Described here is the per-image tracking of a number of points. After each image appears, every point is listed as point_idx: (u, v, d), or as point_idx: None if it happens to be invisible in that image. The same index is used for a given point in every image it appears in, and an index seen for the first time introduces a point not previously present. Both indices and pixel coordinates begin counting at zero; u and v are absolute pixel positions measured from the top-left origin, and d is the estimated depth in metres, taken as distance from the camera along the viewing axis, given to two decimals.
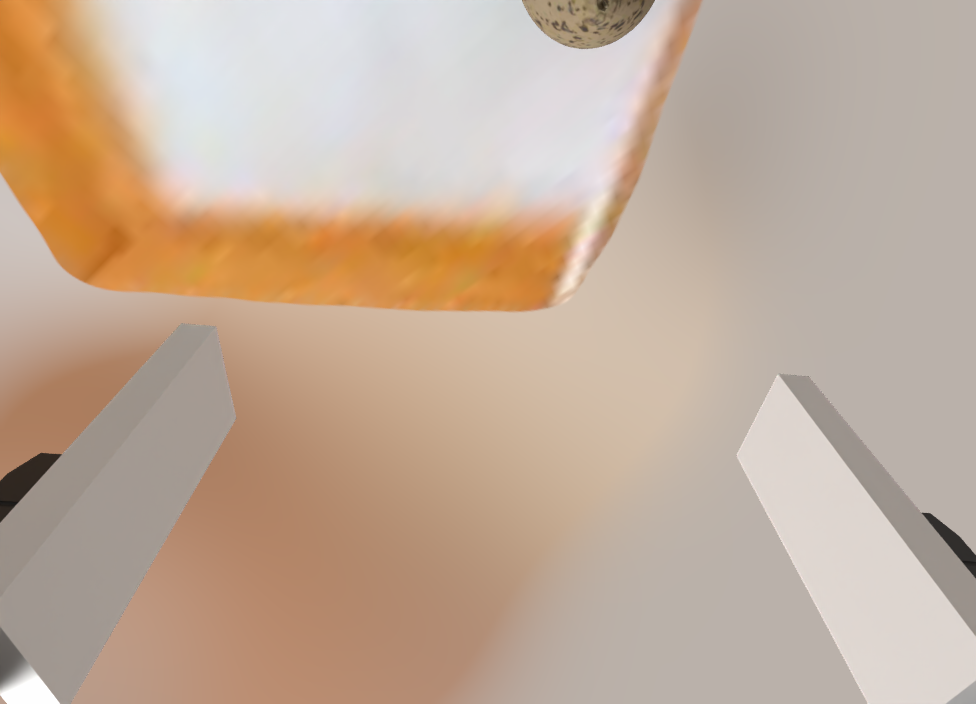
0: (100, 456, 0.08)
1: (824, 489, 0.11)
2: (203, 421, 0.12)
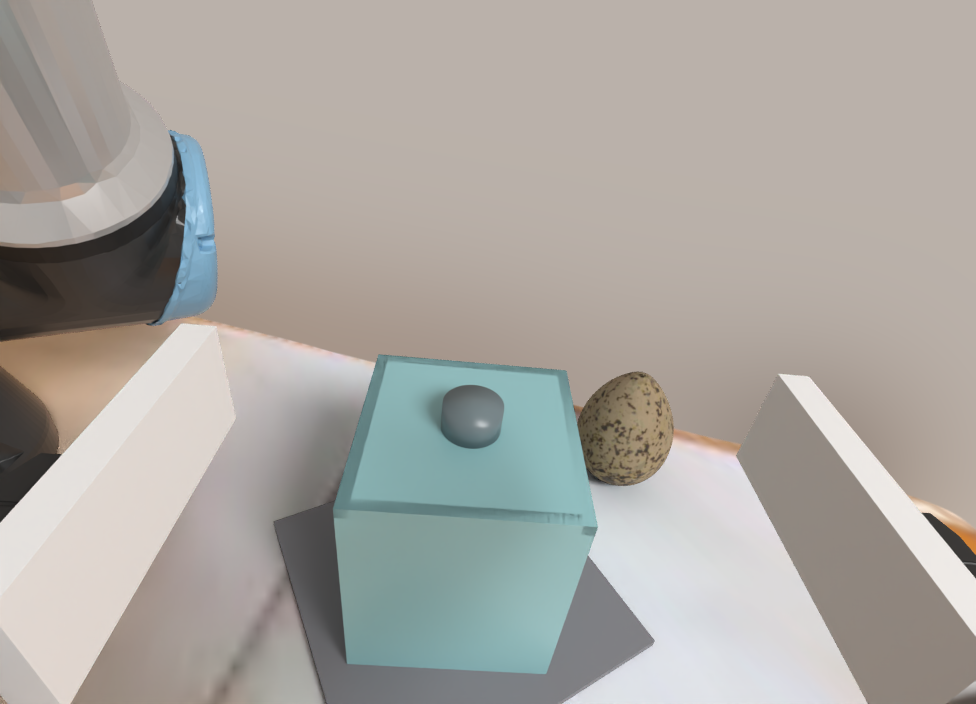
0: (100, 456, 0.08)
1: (823, 489, 0.11)
2: (203, 421, 0.12)
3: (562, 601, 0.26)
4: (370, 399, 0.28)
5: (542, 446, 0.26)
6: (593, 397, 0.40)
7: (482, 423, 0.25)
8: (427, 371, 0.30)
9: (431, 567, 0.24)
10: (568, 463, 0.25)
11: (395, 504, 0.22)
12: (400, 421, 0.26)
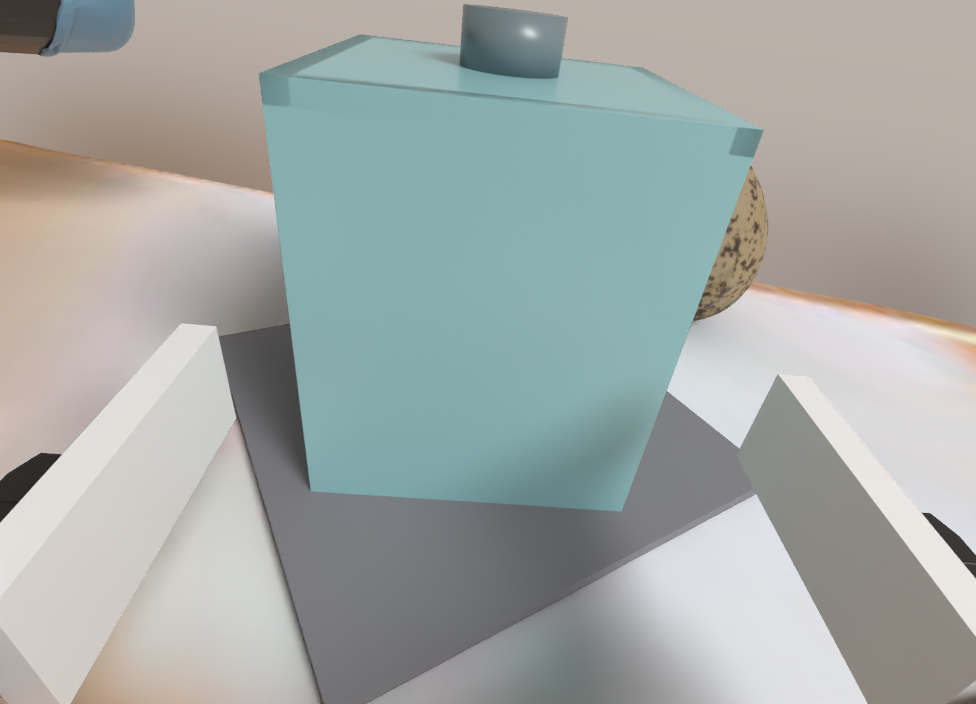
0: (100, 456, 0.08)
1: (824, 489, 0.11)
2: (203, 421, 0.12)
3: (668, 340, 0.15)
4: (343, 44, 0.17)
5: (631, 88, 0.15)
6: None
7: (533, 15, 0.14)
8: (434, 46, 0.19)
9: (448, 252, 0.13)
10: (681, 98, 0.15)
11: (381, 83, 0.12)
12: (392, 56, 0.16)
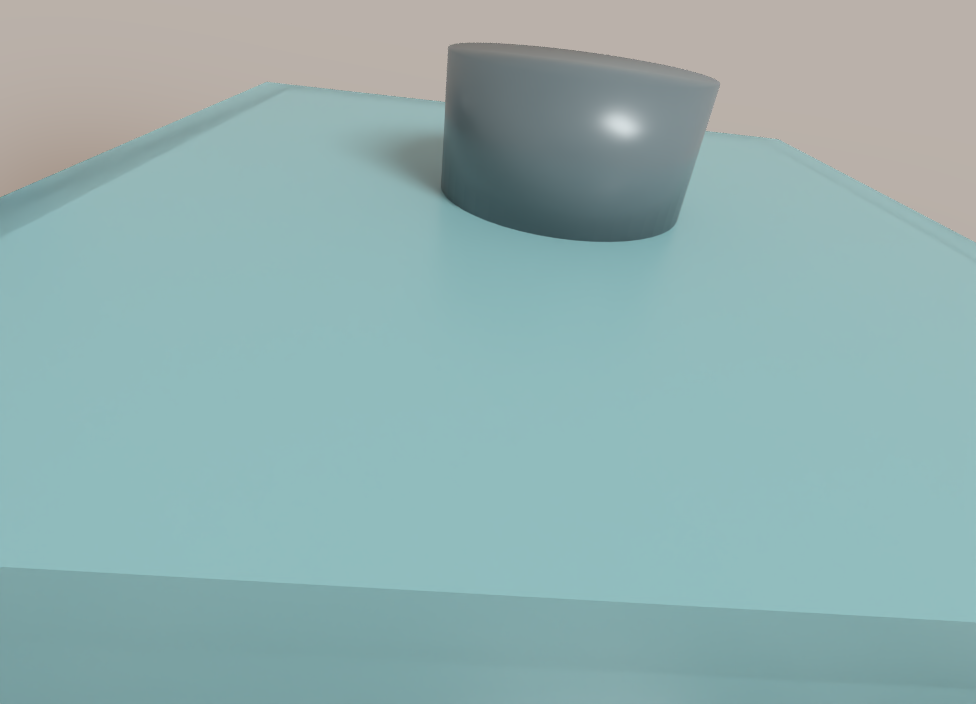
0: None
1: None
2: None
3: None
4: (190, 124, 0.08)
5: (866, 251, 0.06)
6: None
7: (648, 85, 0.05)
8: (401, 109, 0.10)
9: None
10: None
11: (34, 480, 0.02)
12: (280, 165, 0.07)
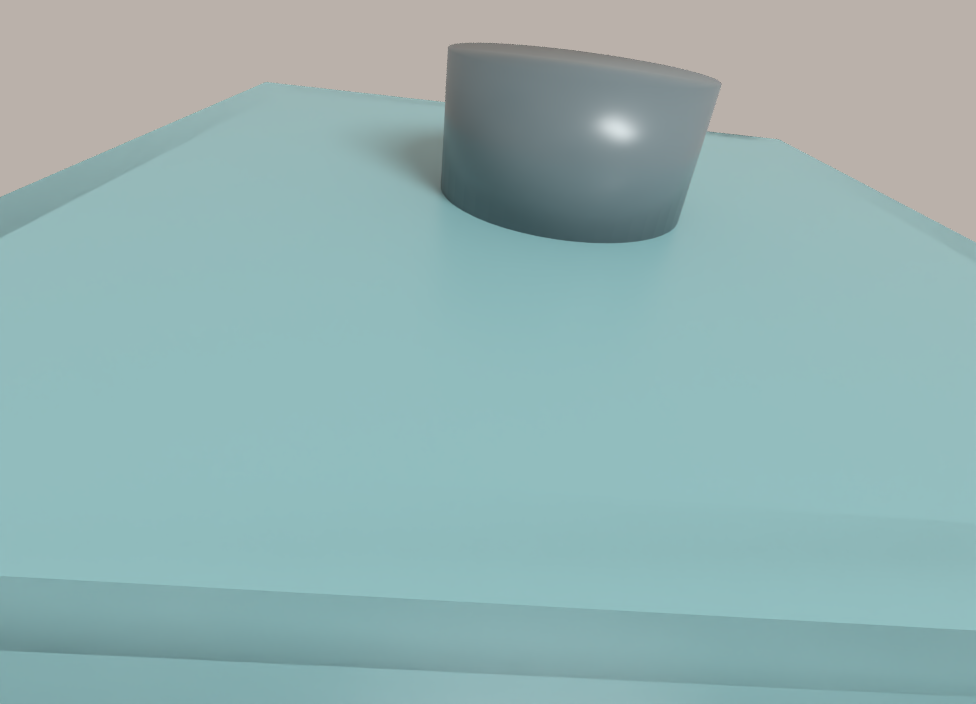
0: None
1: None
2: None
3: None
4: (188, 125, 0.08)
5: (867, 252, 0.06)
6: None
7: (648, 85, 0.05)
8: (401, 109, 0.10)
9: None
10: None
11: (27, 486, 0.02)
12: (278, 166, 0.07)
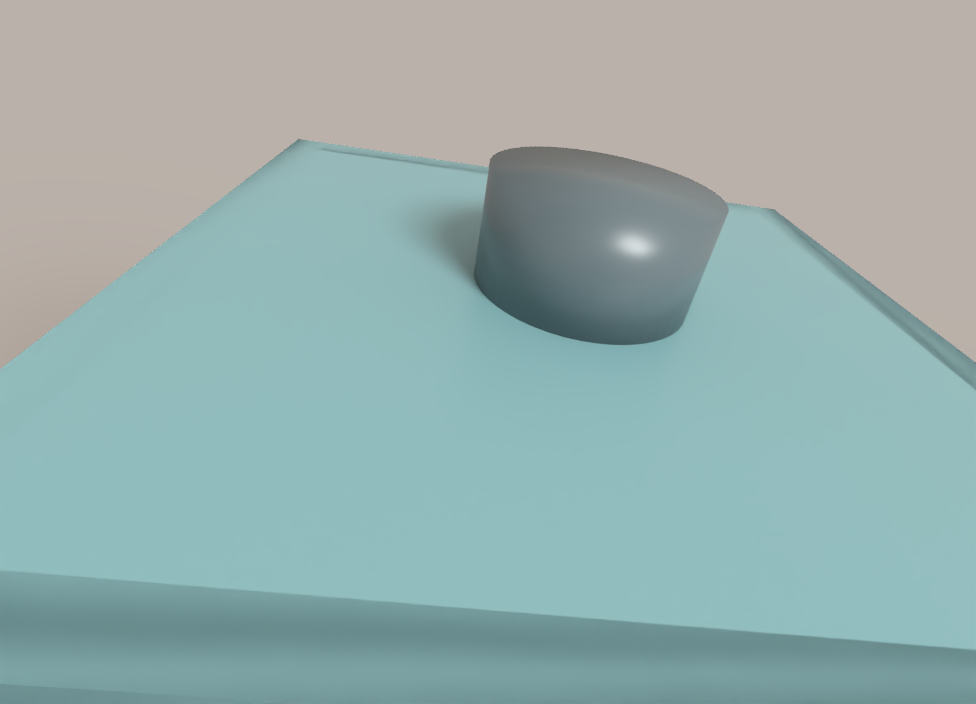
0: None
1: None
2: None
3: None
4: (240, 199, 0.08)
5: (850, 353, 0.07)
6: None
7: (668, 221, 0.06)
8: (427, 175, 0.11)
9: None
10: None
11: (197, 613, 0.03)
12: (329, 252, 0.07)
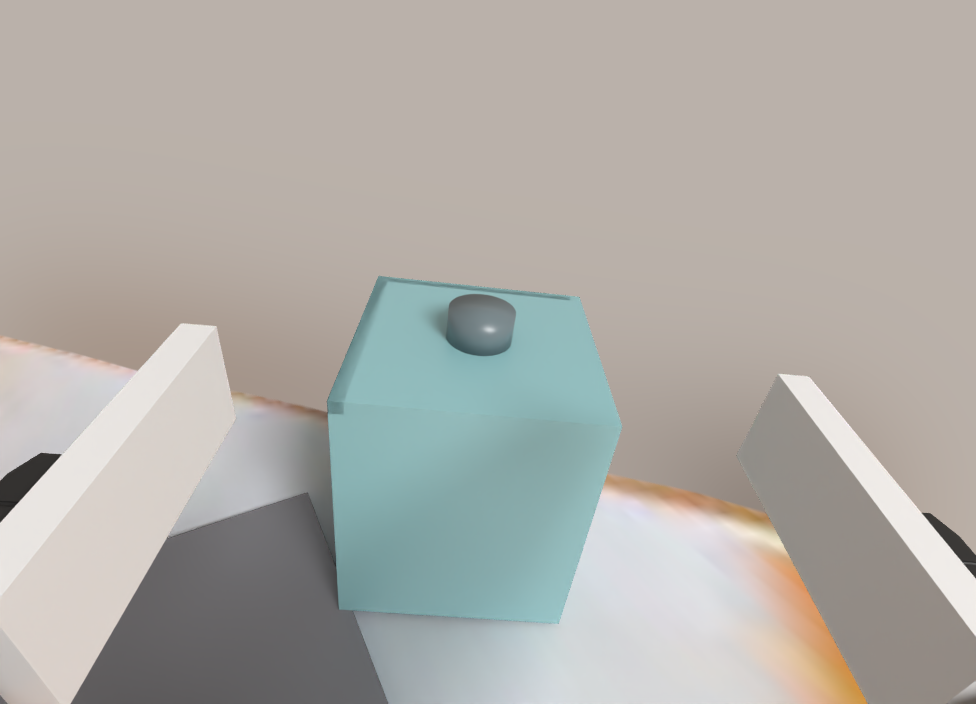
0: (100, 456, 0.08)
1: (823, 489, 0.11)
2: (203, 421, 0.12)
3: (579, 526, 0.23)
4: (369, 311, 0.25)
5: (557, 357, 0.24)
6: None
7: (492, 325, 0.23)
8: (431, 291, 0.28)
9: (436, 480, 0.22)
10: (587, 372, 0.23)
11: (397, 399, 0.20)
12: (402, 330, 0.24)
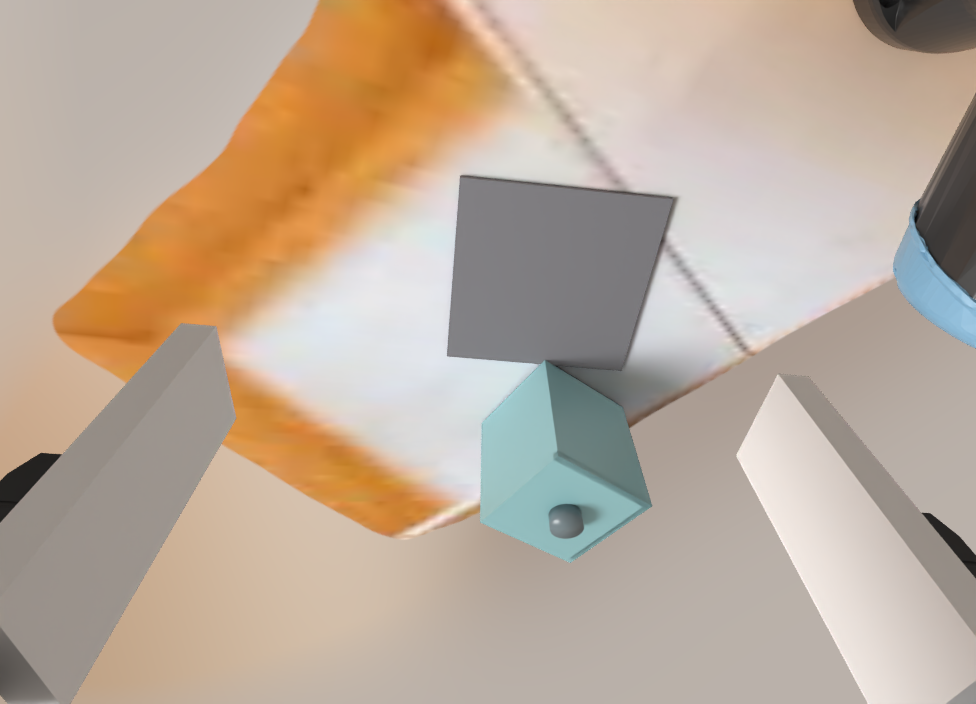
0: (100, 456, 0.08)
1: (824, 489, 0.11)
2: (203, 421, 0.12)
3: (483, 471, 0.53)
4: (617, 490, 0.46)
5: (532, 529, 0.50)
6: None
7: (552, 525, 0.47)
8: (618, 517, 0.49)
9: (524, 451, 0.49)
10: (515, 531, 0.50)
11: (543, 474, 0.45)
12: (591, 494, 0.47)
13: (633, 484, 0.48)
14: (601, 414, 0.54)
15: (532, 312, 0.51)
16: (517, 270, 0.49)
